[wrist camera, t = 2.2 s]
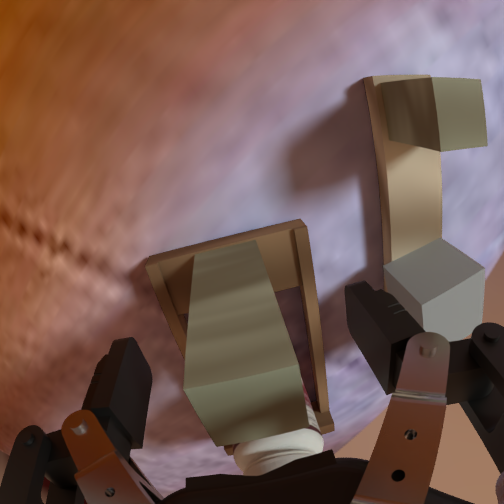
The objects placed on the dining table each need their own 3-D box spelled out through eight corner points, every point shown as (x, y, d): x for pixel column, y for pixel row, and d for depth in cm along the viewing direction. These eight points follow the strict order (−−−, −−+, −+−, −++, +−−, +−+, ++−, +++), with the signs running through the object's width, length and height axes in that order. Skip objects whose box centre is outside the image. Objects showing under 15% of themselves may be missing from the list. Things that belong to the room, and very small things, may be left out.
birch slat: (363, 77, 13) (422, 67, 9) (419, 75, 13) (484, 71, 9) (383, 323, 19) (420, 374, 15) (427, 307, 19) (468, 351, 15)
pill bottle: (239, 407, 21) (254, 513, 13) (215, 363, 19) (222, 485, 11) (305, 388, 21) (339, 491, 13) (291, 340, 19) (331, 458, 11)
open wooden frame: (149, 256, 15) (98, 397, 7) (300, 218, 15) (389, 332, 7) (225, 429, 21) (236, 538, 13) (325, 406, 21) (363, 509, 13)
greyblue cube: (382, 265, 16) (421, 304, 13) (439, 237, 16) (484, 267, 12) (392, 319, 18) (424, 361, 14) (444, 291, 18) (481, 326, 14)
